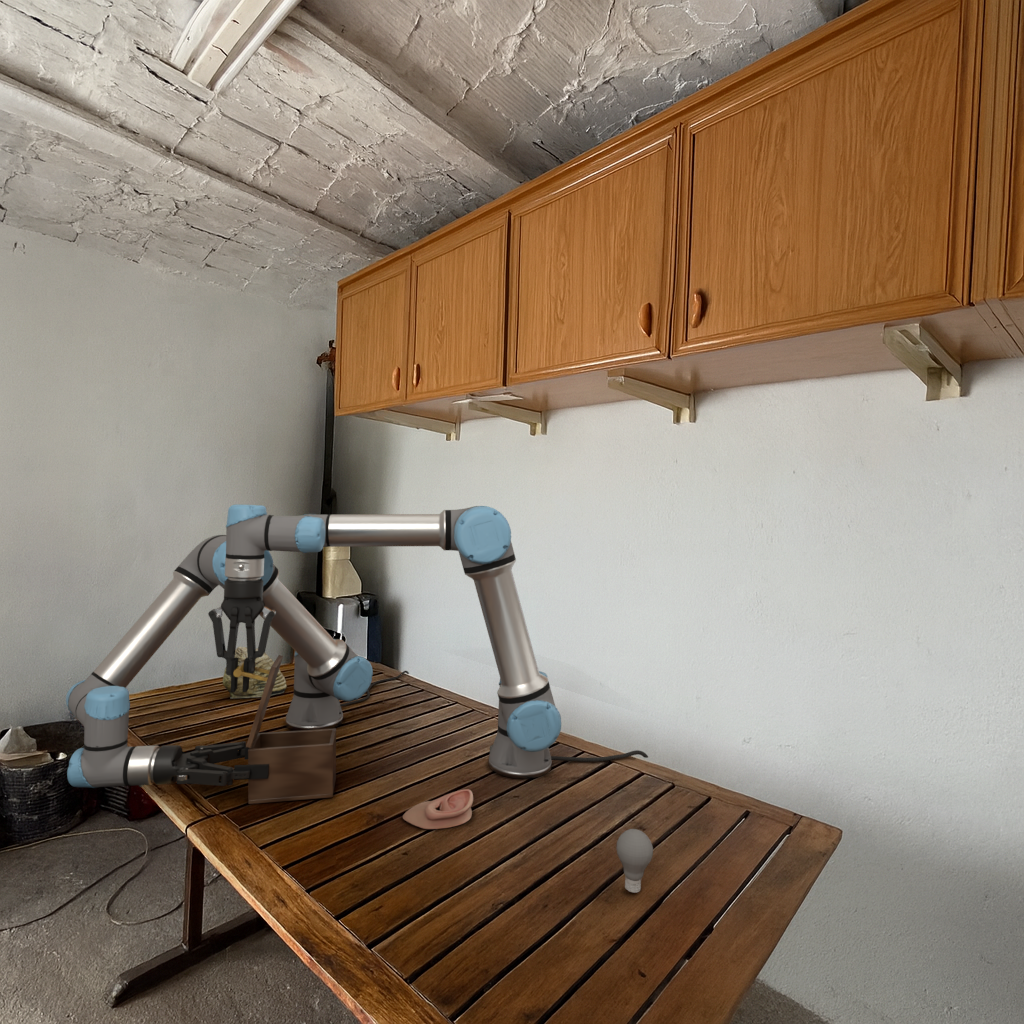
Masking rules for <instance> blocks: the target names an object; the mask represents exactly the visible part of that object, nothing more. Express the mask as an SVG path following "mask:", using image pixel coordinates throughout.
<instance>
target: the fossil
mask: <svg viewBox="0 0 1024 1024" xmlns="http://www.w3.org/2000/svg"><path fill="white" fill-rule="evenodd" d="M256 651H258V648H256ZM235 654H236V655H235V656H234V658H238V666H239V665H240V663H241V662H244V660H245V659H246V658H248V656H247V646H246V647H245V646H238V647H236V650H235ZM274 662H275V660H273V659H272V658H271V657H270V656H269V655H268V654H267V653H266V652H265V653H264V654H263V656H262V657H258V658H256V659H255V667H258V668H263V669H267V670H270V669H271V666H272V665H273V663H274ZM254 674H255V675H260V676H264V677H268V675H269V674H266V673H262V672H258V671H255V672H254ZM222 676H223V677H222V685H223V687H224V688H225V690H226V691H228V693H229V698H230V699H250V698H261V697H262V694H263V691H264V688H265V685H266V681H262V680H258V679H254V678H250V677H249V689H248V690H247V692H243V676H240V677H238V683H237V689H236V691H235V692H231V675H227V674H226V667H225V668H224V671H223V675H222ZM287 687H288V686H287V680H286V678H285V676H284V674H283V673H282V672H281V669H279V671H278V674H277V677H276V681H275V684H274V687H273V690H272V693H271V696H270V697H272V696H275V695H281V694H284V693H285V691H286V689H287Z"/></svg>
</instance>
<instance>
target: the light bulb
mask: <svg viewBox="0 0 1024 1024" xmlns="http://www.w3.org/2000/svg"><path fill="white" fill-rule="evenodd" d="M615 849H616V854H617V857H618V859H619V861H620V863H621V865H622V867H623V873H624V874H623V875H624V876H625V878H624V888H625V890H627V891H628V892H630V893H634V894H635V893H639V892H640V891H641V889H642V887H641V886H642V879H643V877H644V875H645V871H646V868H647V867H648V866H649V864H650V863H651V861H652V859H653V855H654V847H653V843H652V841H651V838H649V836H648V835H647V834H646V833H645V832H643V831H642V830H641V829H636V828H629V829H627V830H625V831H623V832H622V833H621V834H620V835H619V837H618V839H617V841H616V847H615Z"/></svg>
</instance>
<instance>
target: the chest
mask: <svg viewBox="0 0 1024 1024" xmlns="http://www.w3.org/2000/svg"><path fill="white" fill-rule="evenodd" d="M257 764H269V774H268V779H247V786H248V787H247V789H248V790H247V791H248V792H247V796H248V797H247V799H248V802H247V803H248V805H255V804H256V805H257V804H268V803H279V802H290V801H303V800H314V799H315V800H316V799H327V798H333V797H334V791H335V785H336V779H337V727H335V728H333V729H317V730H301V731H295V730H286V731H270V732H259V733H258V735H257V737H256V739H255V741H254V742H253V744H252V746H251V748H249V750H248V759H247V765H257Z"/></svg>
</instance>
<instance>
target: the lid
mask: <svg viewBox="0 0 1024 1024" xmlns="http://www.w3.org/2000/svg"><path fill="white" fill-rule="evenodd" d="M283 658H284V656H283V655H280V654H279V655H278V656H277V657H276V658H275V660H274V663H273V665H272V666H271V669H270V670H267V669H263V668H258V667H255V671H258V672H262V673H266V674H269V675H268V677H264V676H260V675H255V674H251V673H247V672H244V670H243V667H244V662H241V663H240V665H239V666H238V667H237V668H236V669H235V671H234V672H233V674H234V676H235V677H240V676H245V677H250V678H254V679H258V680H262V681H266V685H265V688H264V691H263V694H262V697H260V700H259V703H258V707H257V711H256V714H255V717H254V720H253V723H252V726H251V729H250V732H249V736H248V739H247V741H246V747H248V748H251V746H252V744H253V742H254V741H255V739H256V737H257V735H258V733H260V731H261V727H262V725H263V721H264V719H265V715H266V712H267V709H268V706H269V703H270V700H271V697H272V696H271V693H272V690H273V687H274V684H275V681H276V677H277V674H278V671H279V670H280V668H281V665H282V661H283Z"/></svg>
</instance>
